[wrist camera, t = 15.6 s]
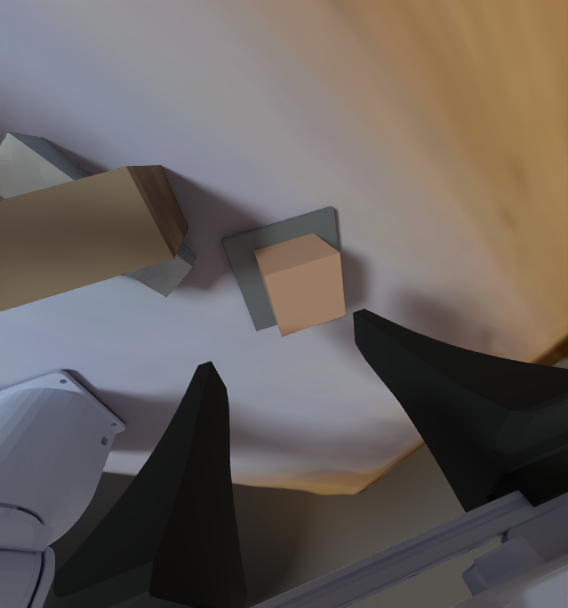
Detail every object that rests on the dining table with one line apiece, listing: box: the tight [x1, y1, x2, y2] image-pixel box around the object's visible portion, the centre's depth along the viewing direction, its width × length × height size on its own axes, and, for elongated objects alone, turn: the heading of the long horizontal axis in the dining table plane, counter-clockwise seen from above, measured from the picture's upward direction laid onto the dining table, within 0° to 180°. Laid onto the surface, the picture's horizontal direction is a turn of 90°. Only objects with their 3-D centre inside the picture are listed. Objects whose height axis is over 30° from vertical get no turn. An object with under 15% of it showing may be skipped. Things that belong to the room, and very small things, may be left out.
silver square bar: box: [0, 132, 196, 297], centre depth 15 cm, size 10×3×3 cm, turn 43°
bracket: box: [0, 165, 188, 311], centre depth 13 cm, size 4×8×7 cm, turn 103°
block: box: [254, 233, 346, 336], centre depth 18 cm, size 5×5×5 cm
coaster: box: [222, 206, 339, 331], centre depth 21 cm, size 9×9×1 cm
